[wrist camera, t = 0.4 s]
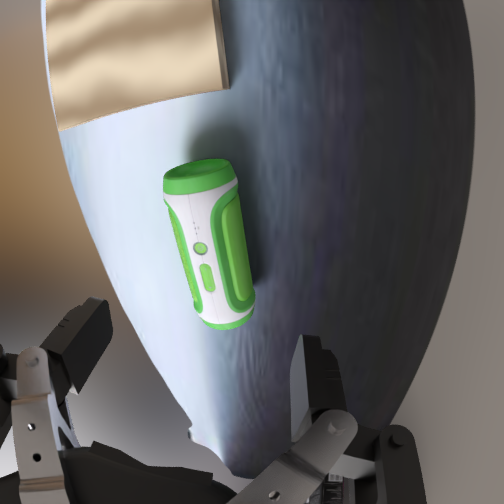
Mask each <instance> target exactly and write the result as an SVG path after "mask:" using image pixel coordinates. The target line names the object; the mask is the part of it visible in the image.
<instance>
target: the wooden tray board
mask: <svg viewBox="0 0 504 504" xmlns="http://www.w3.org/2000/svg"><path fill="white" fill-rule="evenodd" d="M46 35H47V52H48V63H49V73H50V81H51V89H52V96H53V102H54V108H55V114H56V120H57V125H58V130H59V132H60V131H63V130H66V129H69V128H72V127H75V126H78V125H81V124H84V123H87V122H90V121H93V120H96V119H99V118H102V117H105V116H108V115H112V114H115V113H118V112H122V111H125V110H129V109H132V108H136V107H140V106H144V105H148V104H152V103H156V102H161V101H165V100H169V99H174V98H179V97H184V96H189V95H195V94H200V93H206V92H212V91H219V90H226V89H230V85H229V78H228V70H227V62H226V54H225V46H224V38H223V31H222V23H221V15H220V7H219V0H46Z"/></svg>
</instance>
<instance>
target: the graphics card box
mask: <svg viewBox="0 0 504 504" xmlns="http://www.w3.org/2000/svg"><path fill="white" fill-rule="evenodd" d="M343 491H344V477H343V476H339V475H335V474H331V473H328V474H327V475H326V476H325V478H324V480H323V481H322V482H321V484H320V485H319V486H318V487H317V489H316V490H315V491H314V492H313V493H312V494H311V496H310V497H309V498H308V499H307V500H306V501H305V502H304V504H343Z"/></svg>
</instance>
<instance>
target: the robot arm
mask: <svg viewBox="0 0 504 504" xmlns="http://www.w3.org/2000/svg"><path fill="white" fill-rule="evenodd" d="M112 335H113V327H112V321H111V316H110V310H109V304H108V302H107V301H106V300H104V299H100V298H95V297H90V298H88V299H87V300H86V302H85V303H84V304H83V305H82V306H80V305H79V306H77V307H75V308H74V309H72V310H70V311H69V312H68V313H67V314H66V316H65V317H64V318H63V320H61V321H60V322H59V324H58V326H56V327H55V328H54V330H53V331H52V332H51V333H50V334H49V336H48V337H47V338H46V339H45V341H44V342H43V343H42V344H41V345H40V347H29V348H26V349H24V350H23V351H22V352H21V353H20V354H19V355H17V354H9V353H5V351H4V349H3V347H2V345H1V344H0V448H1V446H2V444H3V442H4V440H5V438H6V436H7V434H8V432H9V430H10V428H11V426H13V436H14V444H15V451H16V458H17V464H18V470H19V471H16V472H14V473H12V474H9V475H7V476H4V477H1V478H0V504H304V502H305V501H306V500H307V499H308V498H309V497H310V496H311V494H312V493H313V492H314V491H315V490H316V489H317V487H318V486H319V485H320V484H321V482H322V481H323V480H324V478H325V476H326V475H327V474H328V473H331V474H335V475H339V476H343V477H347V478H349V502H350V504H427V502H426V495H425V489H424V483H423V478H422V473H421V467H420V463H419V458H418V453H417V448H416V444H415V440H414V437H413V435H412V433H411V432H410V431H409V430H408V429H407V428H405V427H403V426H401V425H389V426H387V427H385V428H384V429H383V430H382V431H379V430H375V429H371V428H367V427H363V426H361V425H359V424H357V422H356V420H355V418H354V417H353V416H352V415H351V414H349V413H348V411H347V407H346V401H345V396H344V391H343V386H342V381H341V376H340V372H339V366H338V361H337V359H336V357H335V356H334V354H333V353H332V352H331V350H324V349H322V347H321V341H320V337H319V336H311V335H302V334H301V335H300V337H299V340H298V343H297V346H296V349H295V353H294V356H293V359H292V363H291V369H290V390H291V431H292V442H296V443H295V444H294V445H293V446H292V447H291V448H290V449H289V450H288V451H287V452H286V453H283V454H281V455H280V456H279V457H278V458H277V459H276V460H275V461H274V462H273V463H272V464H271V465H270V466H268V467H267V468H266V469H265V470H264V471H263V472H262V473H261V474H260V475H259V476H258V477H257V478H256V479H254V480H253V481H252V482H251V483H250V484H249V485H248V486H247V487H245V488H244V489H243V490H242V491H241V492H240V493H238V494H237V493H236V492H234V491H233V490H232V489H230V488H229V487H227V486H225V485H223V484H222V483H220V482H217V481H215V480H212V479H213V473H209V472H204V471H198V470H193V469H188V468H183V467H157V466H156V467H155V466H147V465H145V464H143V463H141V462H139V461H138V460H136V459H134V458H132V457H131V456H129V455H127V454H126V453H124V452H122V451H121V450H118V449H115V448H112V447H109V446H107V445H104V444H101V443H99V442H96V441H93V443H92V445H91V447H81V446H80V444H79V442H78V440H77V438H76V435H75V431H74V427H73V423H72V419H71V415H70V410H69V405H68V400H67V398H66V395H67V393H68V392H69V391H70V392H72V393H74V394H77V395H78V394H79V392H80V391H81V389H82V387H83V386H84V384H85V382H86V381H87V379H88V377H89V375H90V374H91V372H92V370H93V369H94V367H95V365H96V364H97V362H98V361H99V359H100V357H101V356H102V354H103V352H104V351H105V349H106V347H107V346H108V344H109V343H110V341H111V338H112Z"/></svg>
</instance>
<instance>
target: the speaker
mask: <svg viewBox="0 0 504 504" xmlns="http://www.w3.org/2000/svg"><path fill="white" fill-rule="evenodd" d="M237 190H238V180H237V177H236V174H235V172H234V170H233V167H232V165H231V163H230V162H229V161H228V160H225V159H205V160H199V161H194V162H190V163H186V164H183V165H180V166H177V167H175V168H173V169H171V170H169V171H168V172H166V173H165V175H164V178H163V197H164V202H165V203H166V205H167V206H168V210H169V215H170V219H171V223H172V227H173V231H174V235H175V238H176V242H177V246H178V249H179V252H180V256H181V259H182V263H183V266H184V270H185V273H186V277H187V280H188V283H189V287H190V290H191V293H192V297H193V299H194V308H195V310H196V311H197V313H198V315H199V316H200V318H201V319H202V320H203V322H204V323H205V324H206V325H207V326H209V327H211V328H214V329H218V330H228V329H233V328H236V327H238V326H241V325H242V324H244V323H245V322H247V321H248V320H249V319H250V317H251V316H252V314H253V311H254V306H255V290H254V288H253V284H252V277H251V271H250V265H249V258H248V252H247V246H246V239H245V233H244V226H243V219H242V213H241V206H240V199H239V195H238V193H237Z"/></svg>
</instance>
